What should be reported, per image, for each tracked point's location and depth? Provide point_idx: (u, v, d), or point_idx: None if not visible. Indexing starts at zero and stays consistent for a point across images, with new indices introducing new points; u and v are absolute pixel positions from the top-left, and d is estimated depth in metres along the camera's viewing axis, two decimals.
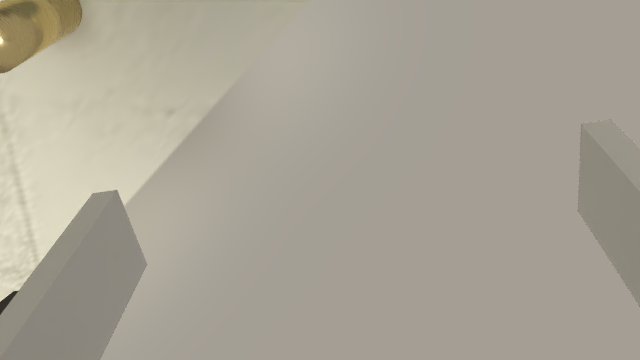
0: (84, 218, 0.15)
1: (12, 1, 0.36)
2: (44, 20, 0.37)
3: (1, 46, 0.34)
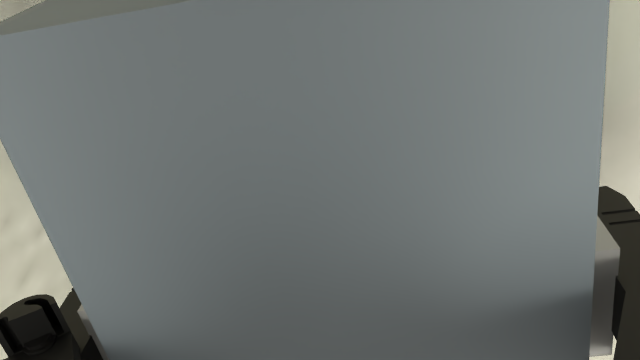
0: None
1: None
2: None
3: None
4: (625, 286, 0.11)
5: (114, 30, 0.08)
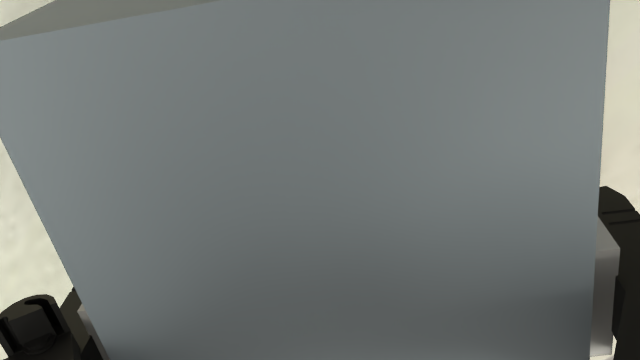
0: None
1: None
2: None
3: None
4: (625, 286, 0.11)
5: (116, 35, 0.08)
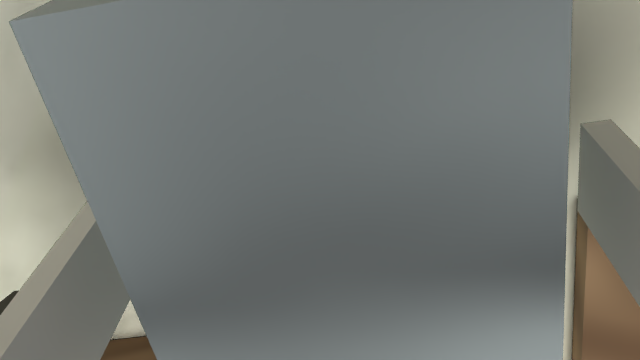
0: (84, 218, 0.15)
1: None
2: None
3: None
4: None
5: (148, 9, 0.10)
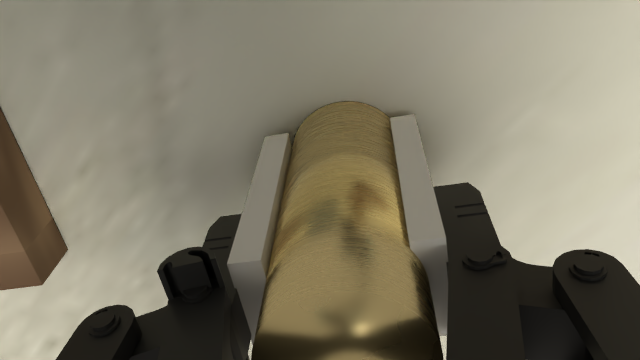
0: (270, 154, 0.17)
1: (359, 200, 0.13)
2: None
3: None
4: None
5: None
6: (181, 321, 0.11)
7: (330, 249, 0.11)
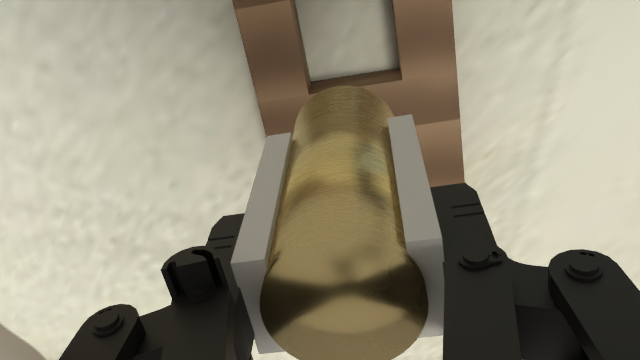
0: (272, 154, 0.17)
1: (355, 168, 0.14)
2: None
3: (375, 315, 0.12)
4: None
5: None
6: (185, 320, 0.11)
7: (330, 207, 0.13)
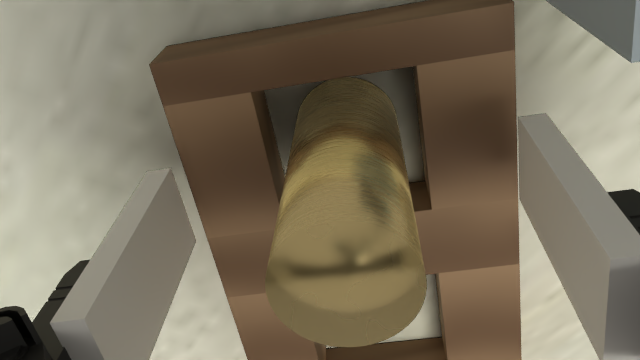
0: (143, 192, 0.16)
1: (357, 154, 0.15)
2: (409, 189, 0.16)
3: (376, 294, 0.13)
4: None
5: None
6: None
7: (333, 190, 0.13)
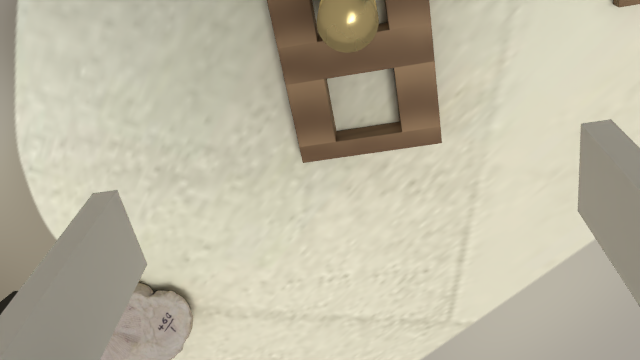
0: (84, 218, 0.15)
1: None
2: None
3: (359, 24, 0.34)
4: None
5: None
6: None
7: None
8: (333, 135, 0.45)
